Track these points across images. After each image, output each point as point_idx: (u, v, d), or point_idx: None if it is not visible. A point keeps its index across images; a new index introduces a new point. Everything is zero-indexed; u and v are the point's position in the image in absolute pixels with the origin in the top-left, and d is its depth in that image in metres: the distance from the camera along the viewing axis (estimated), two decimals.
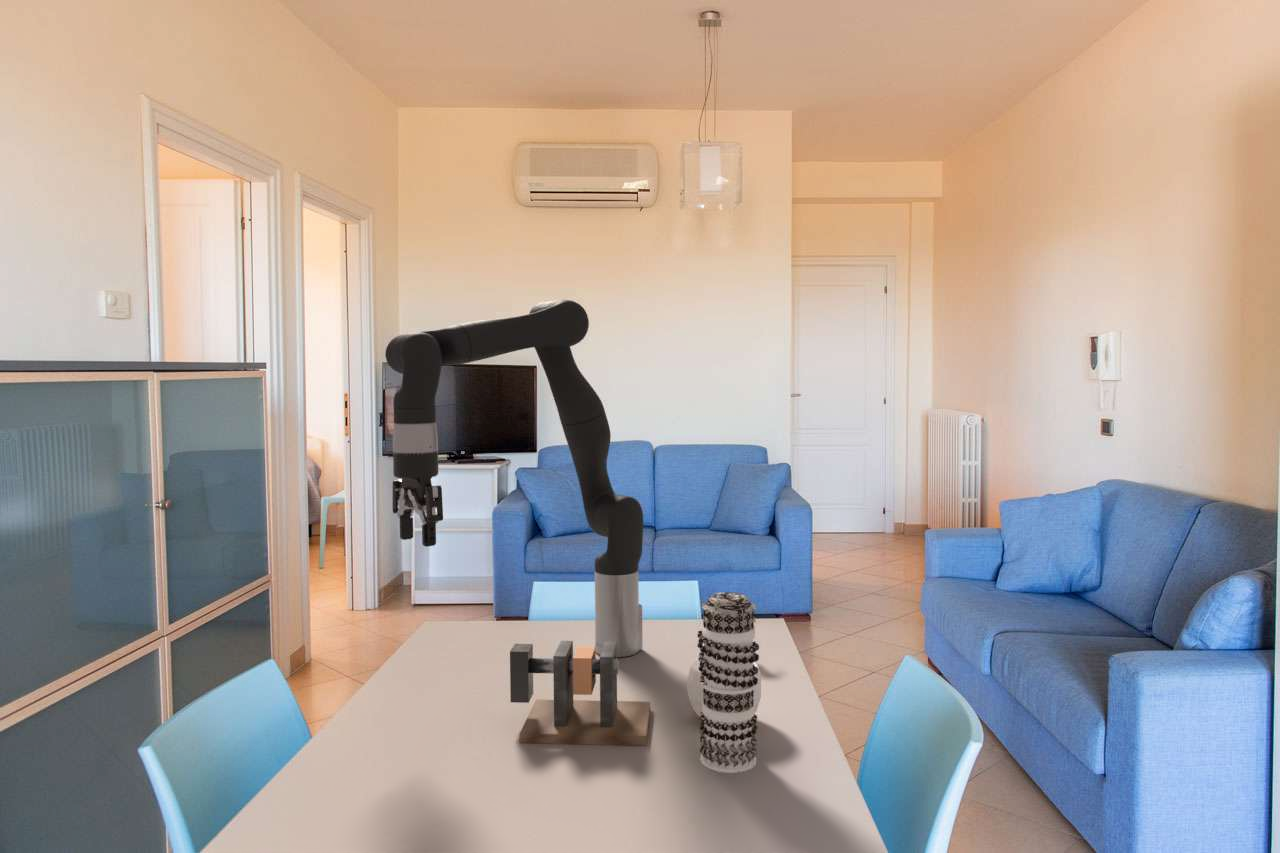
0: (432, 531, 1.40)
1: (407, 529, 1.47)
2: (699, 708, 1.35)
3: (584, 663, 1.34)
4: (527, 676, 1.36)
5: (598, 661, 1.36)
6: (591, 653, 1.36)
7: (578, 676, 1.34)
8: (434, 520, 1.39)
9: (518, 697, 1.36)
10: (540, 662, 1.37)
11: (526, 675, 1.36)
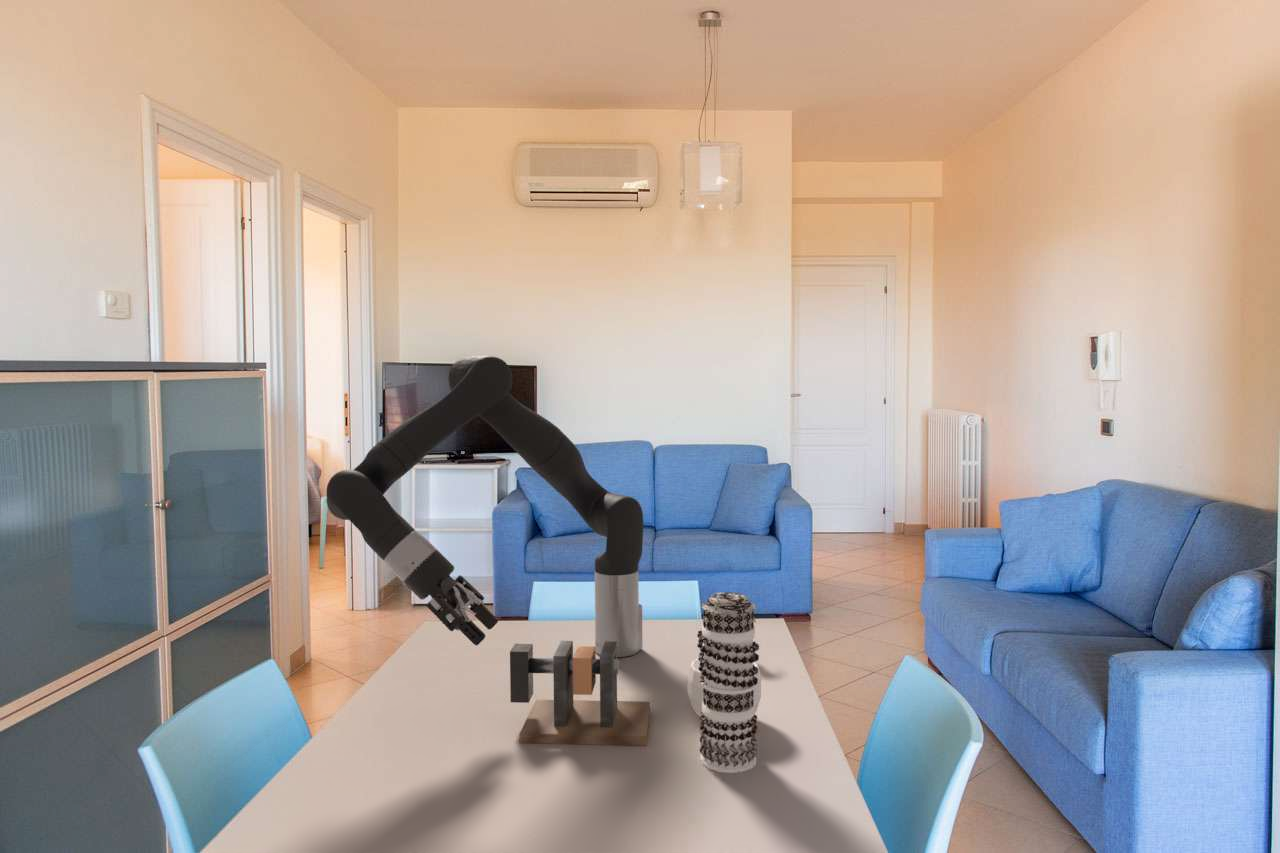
0: (469, 631, 1.33)
1: (486, 618, 1.42)
2: (699, 708, 1.35)
3: (584, 663, 1.34)
4: (527, 676, 1.36)
5: (598, 661, 1.36)
6: (591, 653, 1.36)
7: (578, 676, 1.34)
8: (454, 626, 1.31)
9: (518, 697, 1.36)
10: (540, 662, 1.37)
11: (526, 675, 1.36)
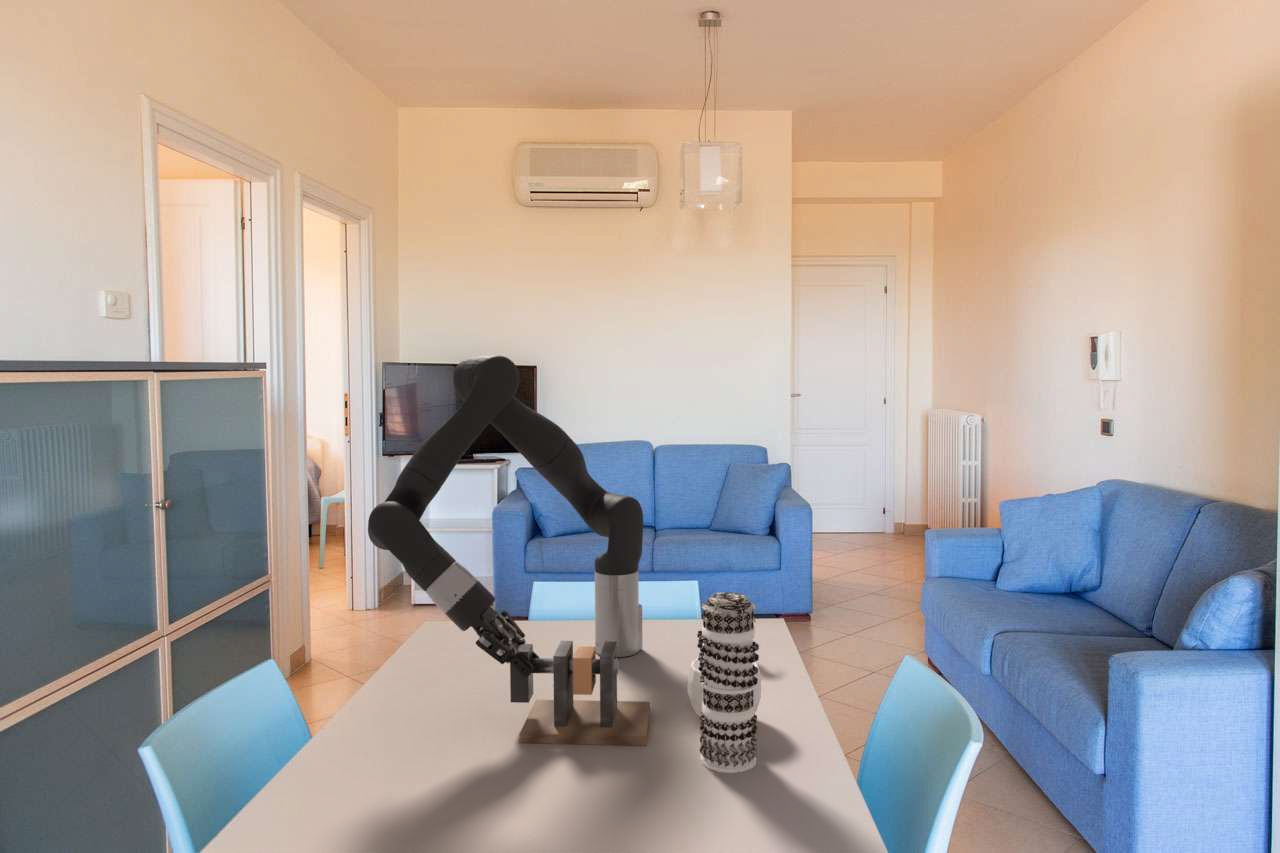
0: (518, 663, 1.34)
1: None
2: (699, 708, 1.35)
3: (584, 663, 1.34)
4: None
5: (598, 661, 1.36)
6: (591, 653, 1.36)
7: (578, 676, 1.34)
8: (505, 659, 1.33)
9: (518, 697, 1.36)
10: (540, 662, 1.37)
11: None
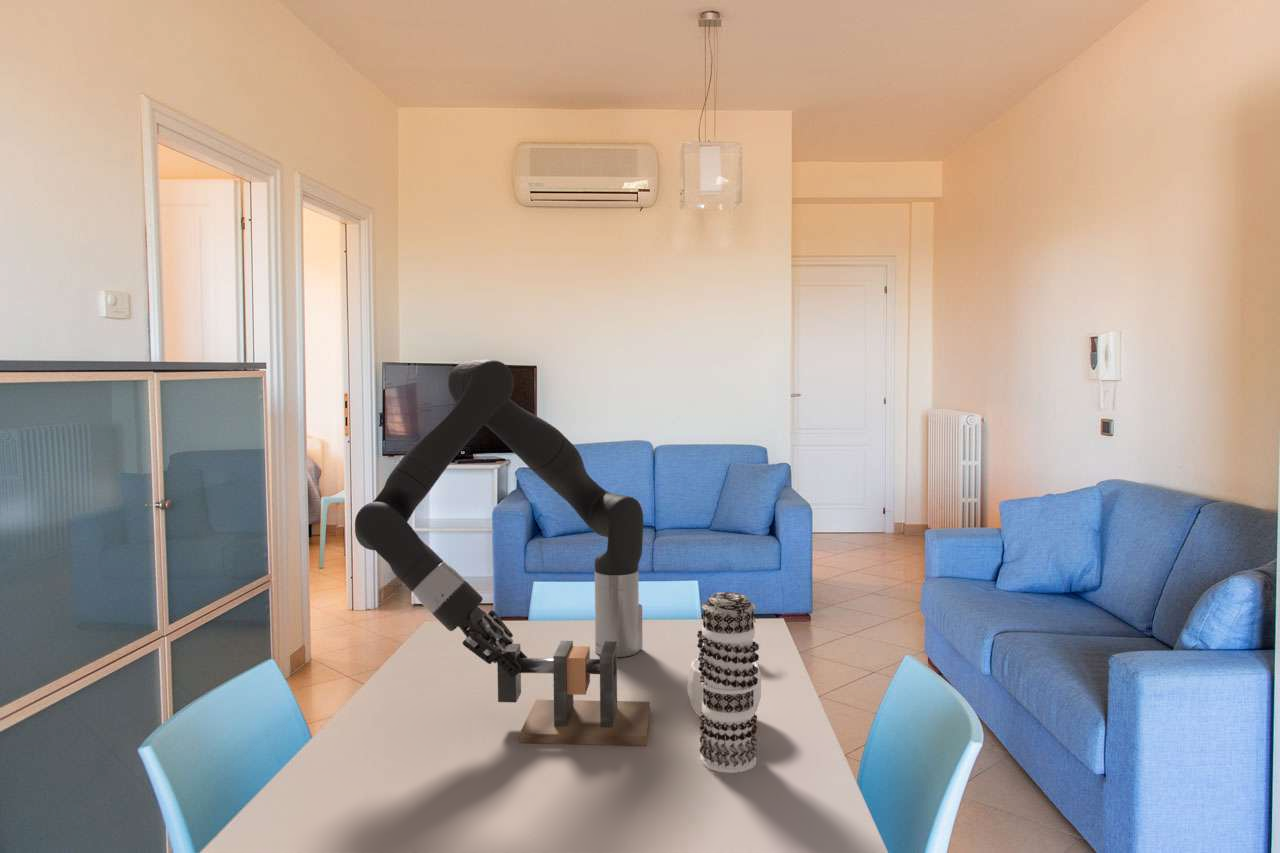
0: (506, 663, 1.35)
1: None
2: (699, 708, 1.35)
3: (578, 663, 1.34)
4: None
5: None
6: (585, 653, 1.36)
7: (571, 676, 1.34)
8: (492, 659, 1.33)
9: (505, 697, 1.36)
10: (527, 662, 1.37)
11: None
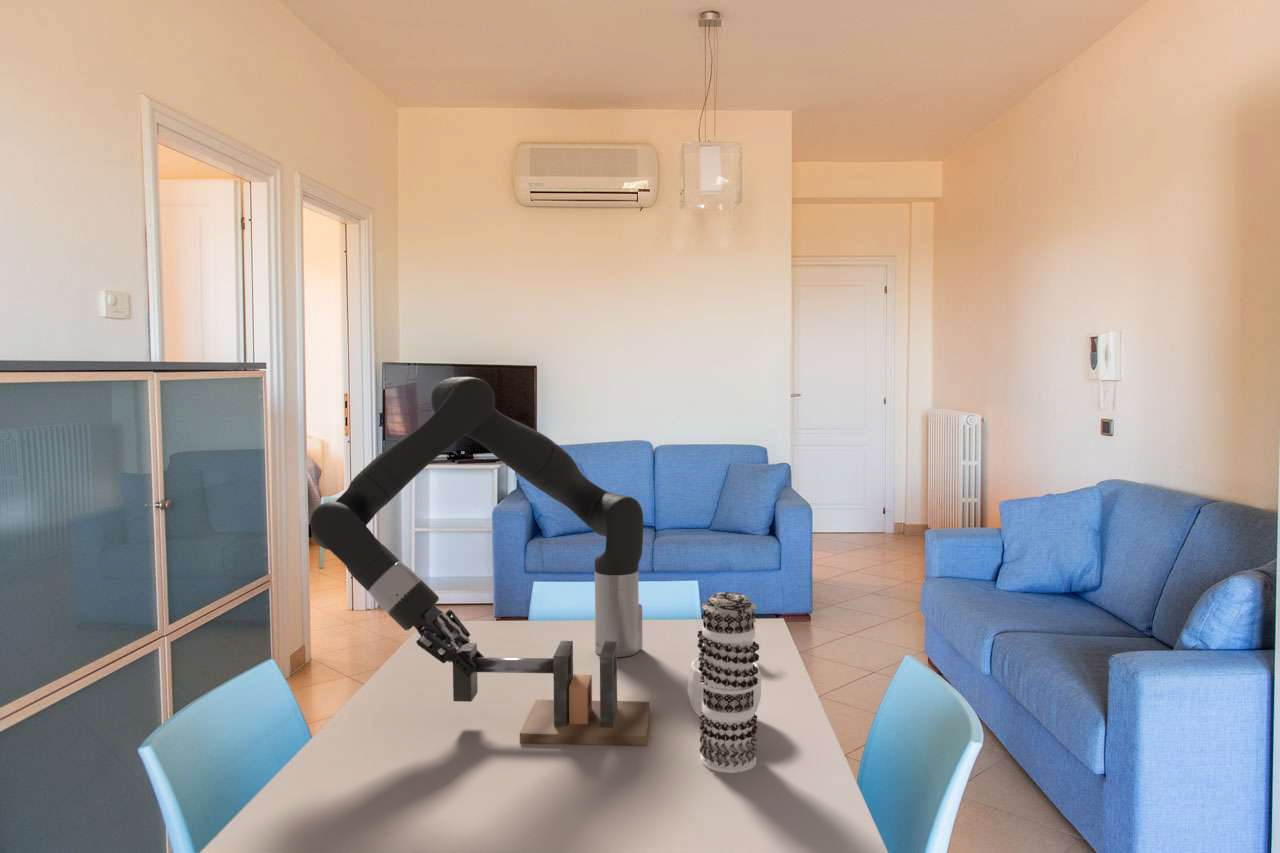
0: (460, 662, 1.35)
1: None
2: (699, 708, 1.35)
3: (580, 692, 1.35)
4: (470, 675, 1.37)
5: (541, 660, 1.37)
6: (587, 682, 1.37)
7: (574, 706, 1.35)
8: (446, 659, 1.33)
9: (460, 696, 1.37)
10: (483, 661, 1.37)
11: None
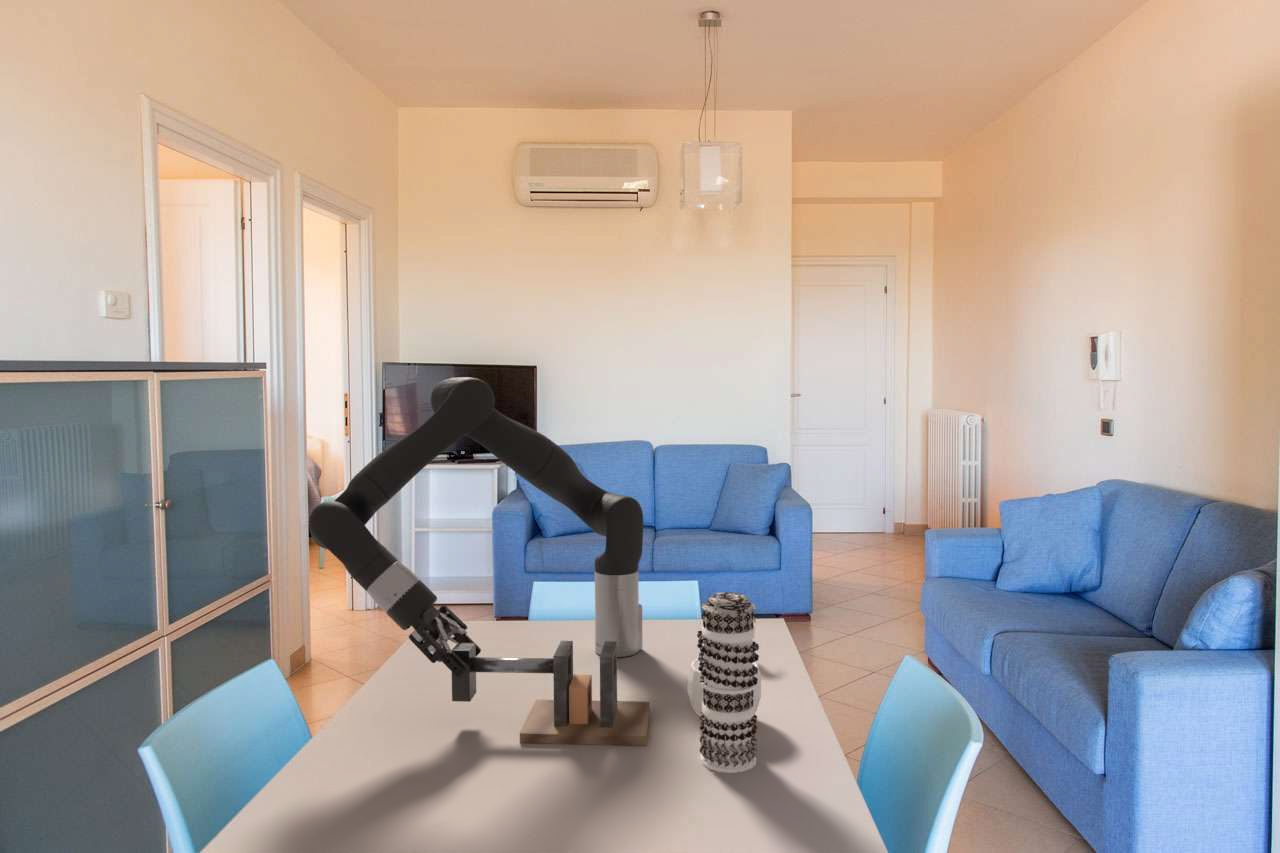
0: (451, 662, 1.33)
1: None
2: (699, 708, 1.35)
3: (580, 692, 1.35)
4: (468, 675, 1.37)
5: (539, 660, 1.37)
6: (587, 682, 1.37)
7: (574, 706, 1.35)
8: (436, 658, 1.32)
9: (459, 696, 1.37)
10: (482, 661, 1.37)
11: (467, 674, 1.36)
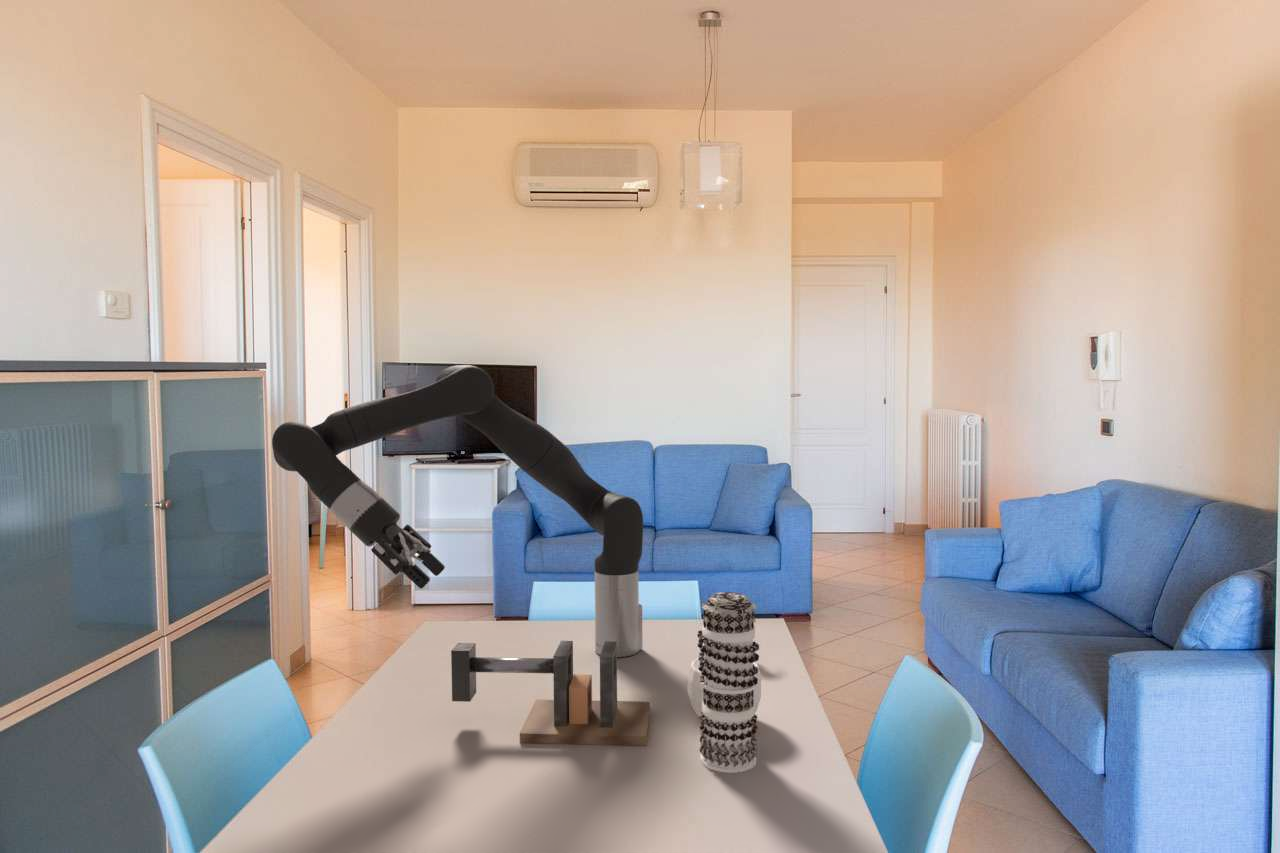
0: (413, 574, 1.37)
1: (433, 565, 1.46)
2: (699, 708, 1.35)
3: (580, 692, 1.35)
4: (468, 675, 1.37)
5: (539, 660, 1.37)
6: (587, 682, 1.37)
7: (574, 706, 1.35)
8: (398, 570, 1.35)
9: (459, 696, 1.37)
10: (482, 661, 1.37)
11: (467, 674, 1.36)
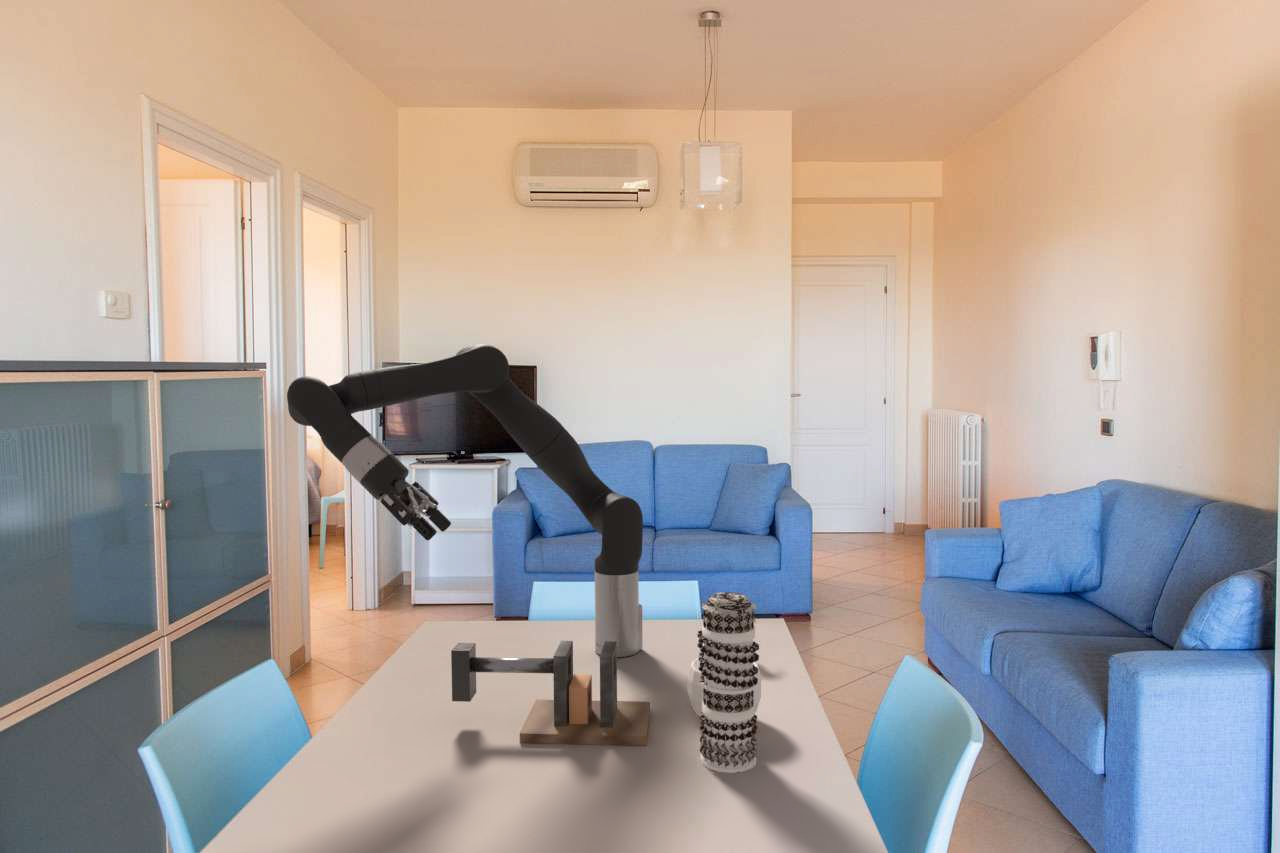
0: (420, 526, 1.41)
1: (440, 521, 1.50)
2: (699, 708, 1.35)
3: (580, 692, 1.35)
4: (468, 675, 1.37)
5: (539, 660, 1.37)
6: (587, 682, 1.37)
7: (574, 706, 1.35)
8: (406, 521, 1.39)
9: (459, 696, 1.37)
10: (482, 661, 1.37)
11: (467, 674, 1.36)
